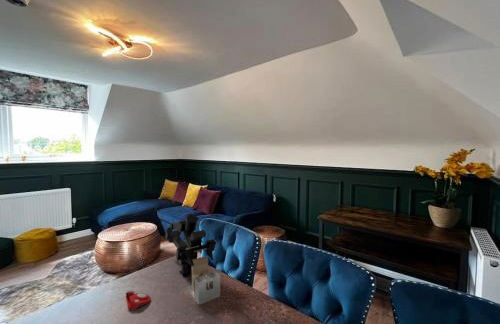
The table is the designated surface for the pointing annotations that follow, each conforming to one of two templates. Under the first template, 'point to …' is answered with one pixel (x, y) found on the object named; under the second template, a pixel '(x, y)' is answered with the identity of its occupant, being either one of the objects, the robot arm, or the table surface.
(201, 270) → the shaft carriage
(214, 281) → the bearing block
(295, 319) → the table surface
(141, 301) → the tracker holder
